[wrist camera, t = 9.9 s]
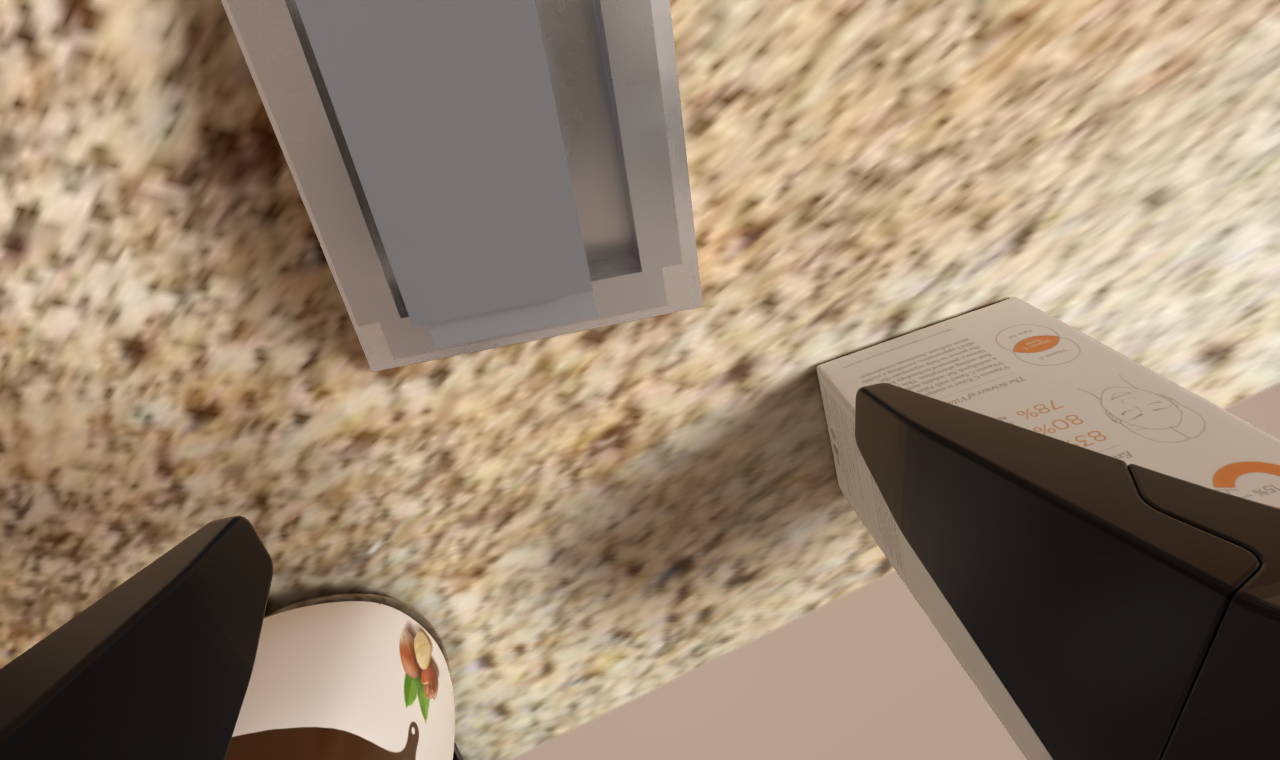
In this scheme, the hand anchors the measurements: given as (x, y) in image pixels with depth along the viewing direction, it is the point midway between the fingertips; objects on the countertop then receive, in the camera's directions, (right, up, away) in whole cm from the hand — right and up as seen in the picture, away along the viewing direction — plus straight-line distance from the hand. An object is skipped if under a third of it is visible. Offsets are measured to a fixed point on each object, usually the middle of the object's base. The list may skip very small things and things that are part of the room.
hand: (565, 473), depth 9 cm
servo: (-3, +9, +8) cm, 12 cm away
